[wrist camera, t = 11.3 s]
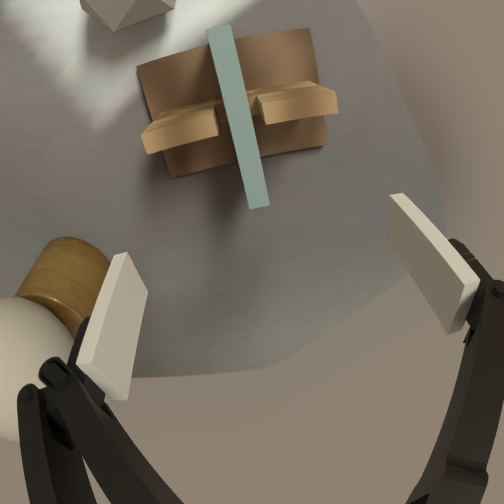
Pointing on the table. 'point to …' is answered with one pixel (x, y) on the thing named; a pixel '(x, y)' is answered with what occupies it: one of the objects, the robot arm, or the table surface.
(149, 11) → the die
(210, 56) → the walnut stand
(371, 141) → the table surface
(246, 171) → the teal rectangular panel
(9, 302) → the lamp
